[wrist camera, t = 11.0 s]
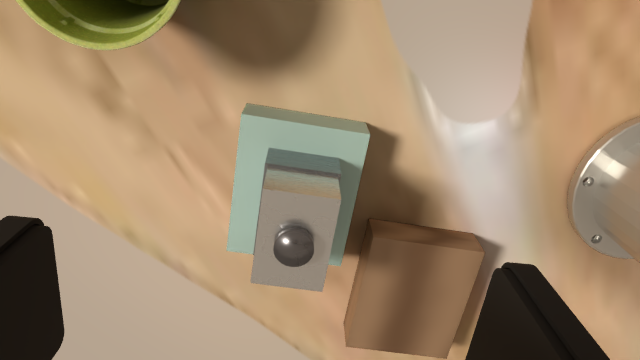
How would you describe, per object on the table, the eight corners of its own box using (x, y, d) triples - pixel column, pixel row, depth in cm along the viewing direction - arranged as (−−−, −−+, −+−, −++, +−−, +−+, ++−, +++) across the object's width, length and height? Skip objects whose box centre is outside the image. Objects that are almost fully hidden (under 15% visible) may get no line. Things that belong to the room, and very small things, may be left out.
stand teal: (365, 122, 35) (370, 134, 32) (338, 246, 39) (340, 266, 36) (246, 103, 34) (241, 113, 31) (232, 231, 38) (226, 250, 36)
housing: (338, 157, 33) (346, 203, 26) (322, 242, 35) (325, 302, 29) (268, 147, 32) (258, 190, 26) (257, 233, 35) (245, 292, 28)
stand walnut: (472, 233, 39) (485, 252, 36) (437, 334, 43) (446, 358, 40) (368, 218, 38) (373, 236, 35) (343, 322, 42) (346, 346, 40)
